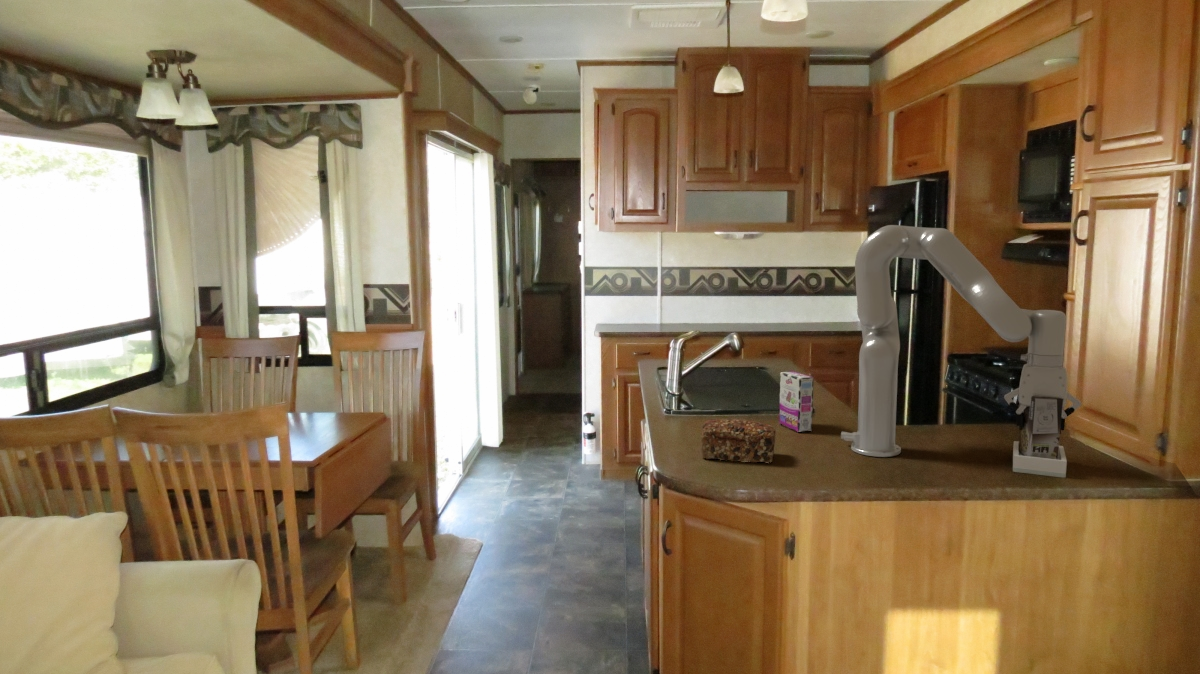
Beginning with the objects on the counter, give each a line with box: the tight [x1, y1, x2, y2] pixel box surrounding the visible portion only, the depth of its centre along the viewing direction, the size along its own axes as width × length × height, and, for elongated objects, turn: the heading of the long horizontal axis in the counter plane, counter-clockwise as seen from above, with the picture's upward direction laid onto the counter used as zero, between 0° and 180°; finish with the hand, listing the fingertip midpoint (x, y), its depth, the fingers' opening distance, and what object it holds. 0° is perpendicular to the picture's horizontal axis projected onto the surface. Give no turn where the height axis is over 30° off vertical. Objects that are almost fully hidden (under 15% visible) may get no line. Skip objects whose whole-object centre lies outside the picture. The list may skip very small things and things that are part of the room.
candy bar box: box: [778, 370, 815, 433], centre depth 227 cm, size 11×5×16 cm, turn 18°
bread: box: [701, 418, 777, 464], centre depth 201 cm, size 19×11×10 cm, turn 73°
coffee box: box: [1018, 396, 1063, 459], centre depth 188 cm, size 9×6×16 cm
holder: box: [1012, 440, 1068, 479], centre depth 189 cm, size 11×14×4 cm
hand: (1039, 430), depth 188 cm, fingers closed on coffee box, 7 cm apart
